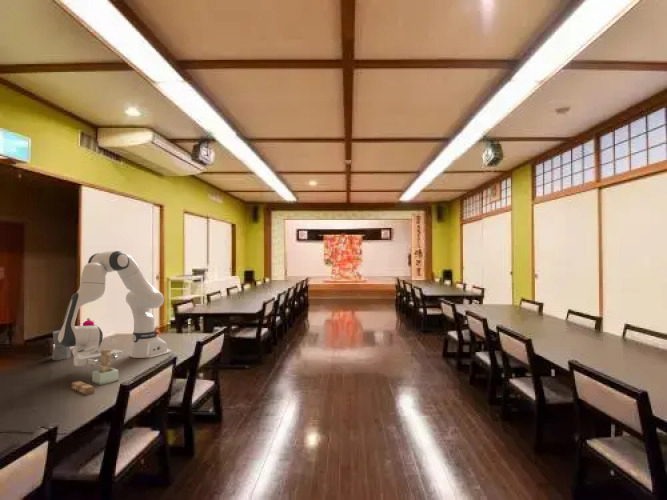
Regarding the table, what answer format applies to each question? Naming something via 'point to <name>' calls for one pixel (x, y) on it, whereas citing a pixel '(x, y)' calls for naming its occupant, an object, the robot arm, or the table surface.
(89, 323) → the pepper mill
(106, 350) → the tan wooden block
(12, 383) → the table surface
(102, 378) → the pale green hollow block
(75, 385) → the tan wooden bar
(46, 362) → the table surface
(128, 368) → the table surface
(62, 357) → the coffeepot
